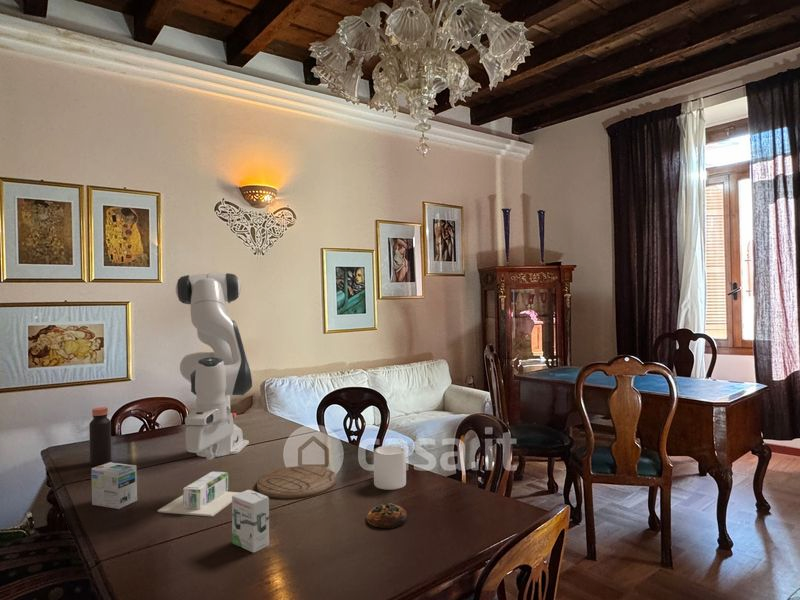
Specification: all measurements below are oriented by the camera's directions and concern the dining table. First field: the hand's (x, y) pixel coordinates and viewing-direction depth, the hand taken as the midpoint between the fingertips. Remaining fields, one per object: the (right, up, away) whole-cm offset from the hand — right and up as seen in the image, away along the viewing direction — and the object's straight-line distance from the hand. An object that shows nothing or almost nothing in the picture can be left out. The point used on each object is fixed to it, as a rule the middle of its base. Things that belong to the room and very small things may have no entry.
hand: (211, 458), depth 152 cm
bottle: (-53, -12, +33) cm, 64 cm away
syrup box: (+1, -8, +4) cm, 9 cm away
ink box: (+21, -12, -30) cm, 38 cm away
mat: (-1, -12, -5) cm, 13 cm away
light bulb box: (-27, -12, -4) cm, 30 cm away
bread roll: (+53, -12, -17) cm, 57 cm away
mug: (+53, -11, +10) cm, 55 cm away
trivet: (+24, -12, +10) cm, 28 cm away
